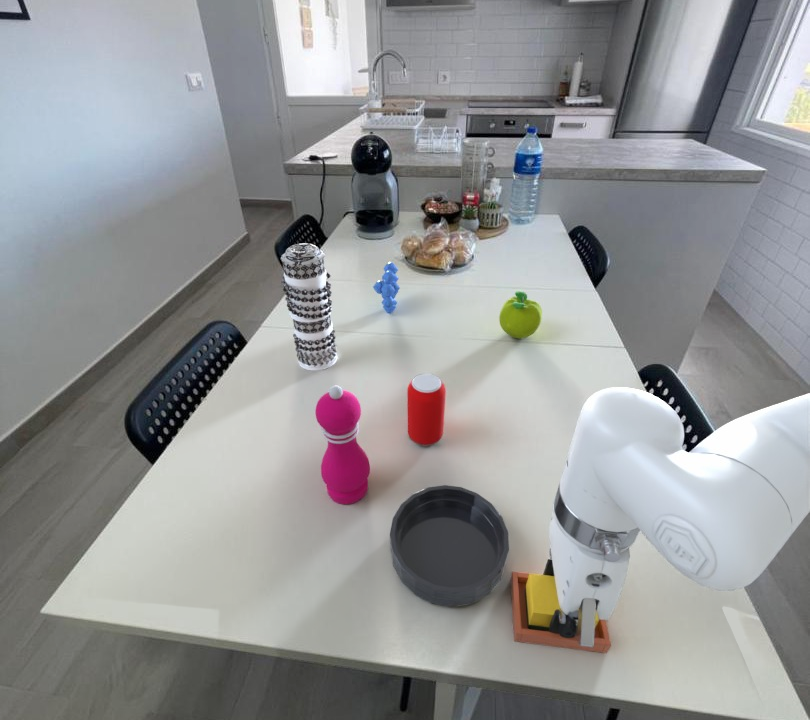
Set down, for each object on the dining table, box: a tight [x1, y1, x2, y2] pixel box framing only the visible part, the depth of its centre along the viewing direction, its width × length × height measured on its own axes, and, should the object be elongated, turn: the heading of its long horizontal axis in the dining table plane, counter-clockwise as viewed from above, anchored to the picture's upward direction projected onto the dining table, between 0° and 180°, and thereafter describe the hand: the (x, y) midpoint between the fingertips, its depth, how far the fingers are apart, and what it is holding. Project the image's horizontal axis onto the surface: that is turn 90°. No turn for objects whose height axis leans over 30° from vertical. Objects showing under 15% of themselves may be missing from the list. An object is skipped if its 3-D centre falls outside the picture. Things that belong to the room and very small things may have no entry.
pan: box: [389, 484, 510, 608], centre depth 59 cm, size 15×15×4 cm
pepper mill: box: [315, 384, 371, 505], centre depth 63 cm, size 7×7×20 cm
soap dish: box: [509, 571, 612, 654], centre depth 53 cm, size 10×7×2 cm
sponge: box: [525, 572, 599, 632], centre depth 52 cm, size 7×4×4 cm, turn 82°
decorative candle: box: [280, 242, 338, 372], centre depth 89 cm, size 9×9×25 cm
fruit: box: [498, 290, 543, 340], centre depth 101 cm, size 9×9×10 cm
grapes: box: [372, 261, 401, 315], centre depth 111 cm, size 12×7×12 cm, turn 175°
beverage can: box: [406, 373, 447, 447], centre depth 74 cm, size 6×6×12 cm
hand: (559, 604), depth 52 cm, fingers open, 5 cm apart
